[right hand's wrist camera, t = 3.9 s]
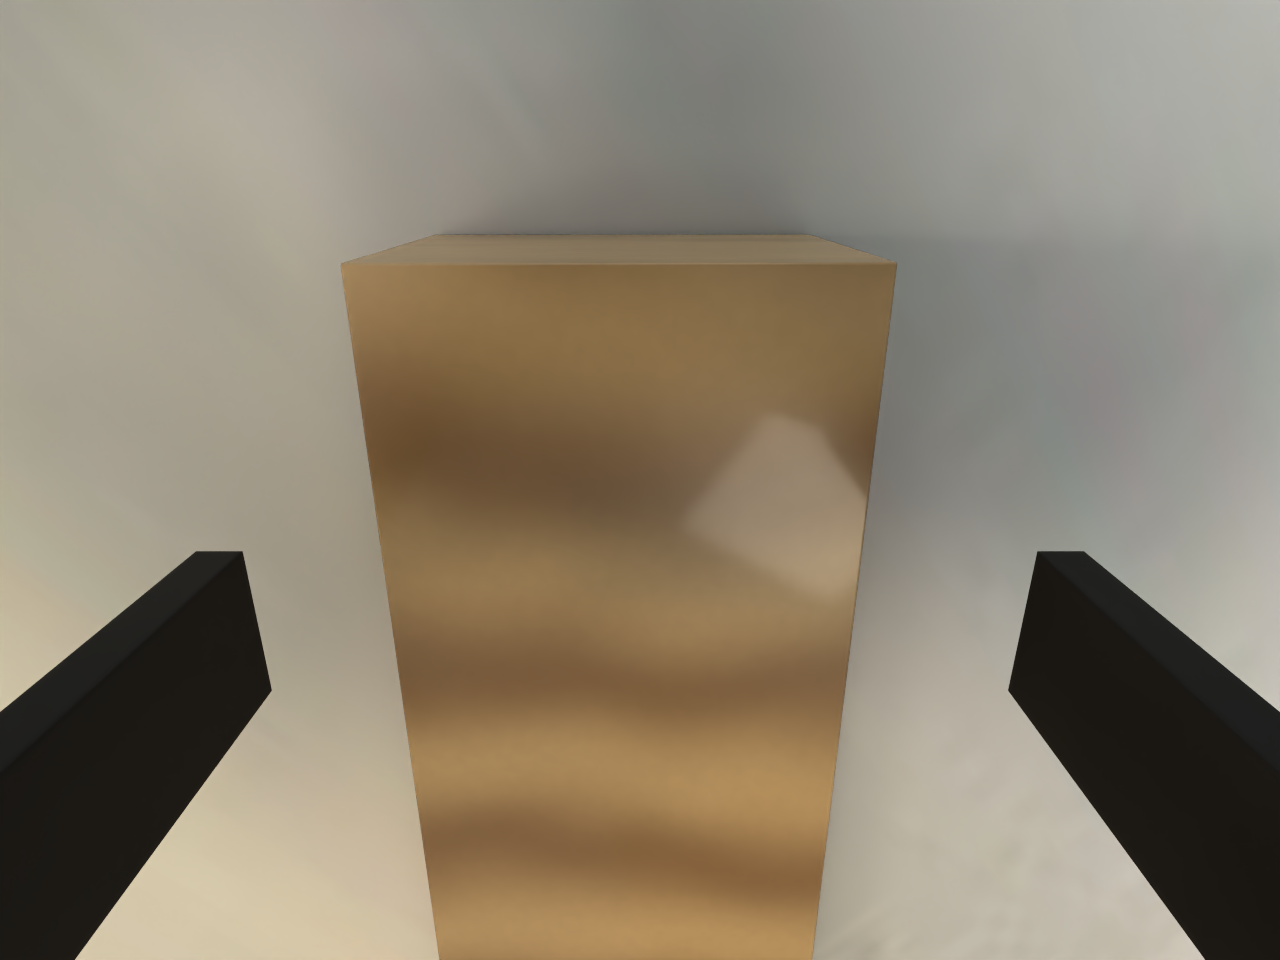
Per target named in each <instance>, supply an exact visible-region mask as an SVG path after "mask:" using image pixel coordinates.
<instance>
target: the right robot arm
mask: <svg viewBox="0 0 1280 960" xmlns="http://www.w3.org/2000/svg"><path fill="white" fill-rule="evenodd" d="M271 691H272V689H271V684H270V679H269V675H268V670H267V665H266V660H265V656H264V651H263V646H262V642H261V637H260V632H259V627H258V623H257V618H256V613H255V608H254V604H253V599H252V594H251V589H250V585H249V580H248V575H247V570H246V566H245V561H244V556H243V551H196V552H195V553H194V554H192V555H191V556H190V557H189V558H188V559H186V560H185V561H184V562H183V563H181V564H180V565H179V566H178V567H177V568H175V569H174V570H173V571H172V572H170V573H169V574H168V575H167V576H166V577H164V578H163V579H162V580H161V581H159V582H158V583H157V584H156V585H155V586H153V587H152V588H151V589H150V590H148V591H147V592H146V593H145V594H144V595H142V596H141V597H140V598H139V599H138V600H136V601H135V602H134V603H133V604H131V605H130V606H129V607H128V608H127V609H125V610H124V611H123V612H122V613H120V614H119V615H118V616H117V617H116V618H114V619H113V620H112V621H111V622H109V623H108V624H107V625H106V626H105V627H103V628H102V629H101V630H100V631H98V632H97V633H96V634H95V635H94V636H92V637H91V638H90V639H89V640H88V641H86V642H85V643H84V644H83V645H81V646H80V647H79V648H78V649H77V650H75V651H74V652H73V653H72V654H70V655H69V656H68V657H67V658H66V659H64V660H63V661H62V662H61V663H59V664H58V665H57V666H56V667H55V668H53V669H52V670H51V671H50V672H49V673H47V674H46V675H45V676H44V677H42V678H41V679H40V680H39V681H38V682H36V683H35V684H34V685H33V686H31V687H30V688H29V689H28V690H27V691H25V692H24V693H23V694H22V695H20V696H19V697H18V698H17V699H16V700H14V701H13V702H12V703H11V704H9V705H8V706H7V707H6V708H5V709H3V710H2V711H1V712H0V960H75V959H76V957H77V956H78V955H79V953H80V952H81V950H82V949H83V948H84V946H85V945H86V944H87V942H88V941H89V940H90V938H91V937H92V935H93V934H94V933H95V931H96V930H97V929H98V927H99V926H100V925H101V923H102V922H103V920H104V919H105V918H106V916H107V915H108V914H109V912H110V911H111V909H112V908H113V907H114V905H115V904H116V903H117V901H118V900H119V899H120V897H121V896H122V894H123V893H124V892H125V890H126V889H127V888H128V886H129V885H130V884H131V882H132V881H133V879H134V878H135V877H136V875H137V874H138V873H139V871H140V870H141V868H142V867H143V866H144V864H145V863H146V862H147V860H148V859H149V858H150V856H151V855H152V853H153V852H154V851H155V849H156V848H157V847H158V845H159V844H160V843H161V841H162V840H163V838H164V837H165V836H166V834H167V833H168V832H169V830H170V829H171V827H172V826H173V825H174V823H175V822H176V821H177V819H178V818H179V817H180V815H181V814H182V812H183V811H184V810H185V808H186V807H187V806H188V804H189V803H190V802H191V800H192V799H193V797H194V796H195V795H196V793H197V792H198V791H199V789H200V788H201V787H202V785H203V784H204V782H205V781H206V780H207V778H208V777H209V776H210V774H211V773H212V771H213V770H214V769H215V767H216V766H217V765H218V763H219V762H220V761H221V759H222V758H223V756H224V755H225V754H226V752H227V751H228V750H229V748H230V747H231V746H232V744H233V743H234V741H235V740H236V739H237V737H238V736H239V735H240V733H241V732H242V730H243V729H244V728H245V726H246V725H247V724H248V722H249V721H250V720H251V718H252V717H253V715H254V714H255V713H256V711H257V710H258V709H259V707H260V706H261V705H262V703H263V702H264V700H265V699H266V698H267V696H268V695H269V694H270V692H271ZM1008 691H1009V692H1010V694H1011V695H1012V696H1013V698H1014V699H1015V700H1016V702H1017V703H1018V705H1019V706H1020V707H1021V709H1022V710H1023V711H1024V713H1025V714H1026V715H1027V717H1028V718H1029V720H1030V721H1031V722H1032V724H1033V725H1034V726H1035V728H1036V729H1037V730H1038V732H1039V733H1040V735H1041V736H1042V737H1043V739H1044V740H1045V741H1046V743H1047V744H1048V746H1049V747H1050V748H1051V750H1052V751H1053V752H1054V754H1055V755H1056V756H1057V758H1058V759H1059V761H1060V762H1061V763H1062V765H1063V766H1064V767H1065V769H1066V770H1067V771H1068V773H1069V774H1070V776H1071V777H1072V778H1073V780H1074V781H1075V782H1076V784H1077V785H1078V787H1079V788H1080V789H1081V791H1082V792H1083V793H1084V795H1085V796H1086V797H1087V799H1088V800H1089V802H1090V803H1091V804H1092V806H1093V807H1094V808H1095V810H1096V811H1097V812H1098V814H1099V815H1100V817H1101V818H1102V819H1103V821H1104V822H1105V823H1106V825H1107V826H1108V827H1109V829H1110V830H1111V832H1112V833H1113V834H1114V836H1115V837H1116V838H1117V840H1118V841H1119V843H1120V844H1121V845H1122V847H1123V848H1124V849H1125V851H1126V852H1127V853H1128V855H1129V856H1130V858H1131V859H1132V860H1133V862H1134V863H1135V864H1136V866H1137V867H1138V868H1139V870H1140V871H1141V873H1142V874H1143V875H1144V877H1145V878H1146V879H1147V881H1148V882H1149V884H1150V885H1151V886H1152V888H1153V889H1154V890H1155V892H1156V893H1157V894H1158V896H1159V897H1160V899H1161V900H1162V901H1163V903H1164V904H1165V905H1166V907H1167V908H1168V909H1169V911H1170V912H1171V914H1172V915H1173V916H1174V918H1175V919H1176V920H1177V922H1178V923H1179V924H1180V926H1181V927H1182V929H1183V930H1184V931H1185V933H1186V934H1187V935H1188V937H1189V938H1190V940H1191V941H1192V942H1193V944H1194V945H1195V946H1196V948H1197V949H1198V950H1199V952H1200V953H1201V955H1202V956H1203V957H1204V959H1205V960H1280V712H1279V711H1278V710H1277V709H1275V708H1274V707H1273V706H1272V705H1271V704H1269V703H1268V702H1267V701H1266V700H1264V699H1263V698H1262V697H1261V696H1260V695H1258V694H1257V693H1256V692H1255V691H1253V690H1252V689H1251V688H1250V687H1249V686H1247V685H1246V684H1245V683H1244V682H1242V681H1241V680H1240V679H1239V678H1238V677H1236V676H1235V675H1234V674H1233V673H1231V672H1230V671H1229V670H1228V669H1227V668H1225V667H1224V666H1223V665H1222V664H1221V663H1219V662H1218V661H1217V660H1216V659H1214V658H1213V657H1212V656H1211V655H1210V654H1208V653H1207V652H1206V651H1205V650H1203V649H1202V648H1201V647H1200V646H1199V645H1197V644H1196V643H1195V642H1194V641H1192V640H1191V639H1190V638H1189V637H1188V636H1186V635H1185V634H1184V633H1183V632H1182V631H1180V630H1179V629H1178V628H1177V627H1175V626H1174V625H1173V624H1172V623H1171V622H1169V621H1168V620H1167V619H1166V618H1164V617H1163V616H1162V615H1161V614H1160V613H1158V612H1157V611H1156V610H1155V609H1153V608H1152V607H1151V606H1150V605H1149V604H1147V603H1146V602H1145V601H1144V600H1142V599H1141V598H1140V597H1139V596H1138V595H1136V594H1135V593H1134V592H1133V591H1132V590H1130V589H1129V588H1128V587H1127V586H1125V585H1124V584H1123V583H1122V582H1121V581H1119V580H1118V579H1117V578H1116V577H1114V576H1113V575H1112V574H1111V573H1110V572H1108V571H1107V570H1106V569H1105V568H1103V567H1102V566H1101V565H1100V564H1099V563H1097V562H1096V561H1095V560H1094V559H1092V558H1091V557H1090V556H1089V555H1088V554H1086V553H1085V552H1084V551H1037V556H1036V561H1035V566H1034V570H1033V575H1032V580H1031V585H1030V589H1029V594H1028V599H1027V604H1026V608H1025V613H1024V618H1023V623H1022V627H1021V632H1020V637H1019V642H1018V646H1017V651H1016V656H1015V660H1014V665H1013V670H1012V675H1011V679H1010V684H1009V689H1008Z"/></svg>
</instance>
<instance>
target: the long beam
mask: <svg viewBox="0 0 1280 960" xmlns="http://www.w3.org/2000/svg"><path fill="white" fill-rule="evenodd" d="M896 269H897V263H896V262H893V261H890V260H887V259H884V258H881V257H878V256H875V255H871V254H868V253H865V252H862V251H859V250H856V249H853V248H850V247H846V246H843V245H840V244H837V243H834V242H831V241H828V240H825V239H822V238H818V237H815V236H812V235H433V236H430V237H426V238H423V239H420V240H417V241H413V242H410V243H407V244H403V245H400V246H397V247H393V248H390V249H387V250H384V251H380V252H377V253H374V254H370V255H367V256H364V257H360V258H357V259H354V260H351V261H347V262H344V263H341V271H342V278H343V285H344V292H345V299H346V306H347V313H348V320H349V327H350V334H351V341H352V348H353V355H354V362H355V369H356V376H357V383H358V390H359V397H360V404H361V411H362V418H363V425H364V432H365V439H366V446H367V453H368V460H369V467H370V474H371V481H372V488H373V495H374V502H375V510H376V517H377V524H378V531H379V538H380V545H381V552H382V559H383V566H384V573H385V580H386V587H387V594H388V601H389V608H390V615H391V622H392V629H393V636H394V643H395V650H396V657H397V664H398V671H399V678H400V685H401V692H402V699H403V706H404V713H405V720H406V727H407V734H408V741H409V748H410V755H411V763H412V770H413V777H414V784H415V791H416V798H417V805H418V812H419V819H420V826H421V833H422V840H423V847H424V854H425V861H426V868H427V875H428V882H429V889H430V896H431V903H432V910H433V917H434V924H435V931H436V938H437V945H438V952H439V959H440V960H812V955H813V947H814V939H815V931H816V923H817V914H818V906H819V898H820V890H821V882H822V874H823V865H824V857H825V849H826V841H827V833H828V824H829V816H830V808H831V800H832V792H833V784H834V775H835V767H836V759H837V751H838V743H839V735H840V726H841V718H842V710H843V702H844V694H845V686H846V677H847V669H848V661H849V653H850V645H851V637H852V628H853V620H854V612H855V604H856V596H857V588H858V579H859V571H860V563H861V555H862V547H863V539H864V530H865V522H866V514H867V506H868V498H869V490H870V481H871V473H872V465H873V457H874V449H875V440H876V432H877V424H878V416H879V408H880V400H881V391H882V383H883V375H884V367H885V359H886V351H887V342H888V334H889V326H890V318H891V310H892V302H893V293H894V285H895V277H896Z"/></svg>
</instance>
